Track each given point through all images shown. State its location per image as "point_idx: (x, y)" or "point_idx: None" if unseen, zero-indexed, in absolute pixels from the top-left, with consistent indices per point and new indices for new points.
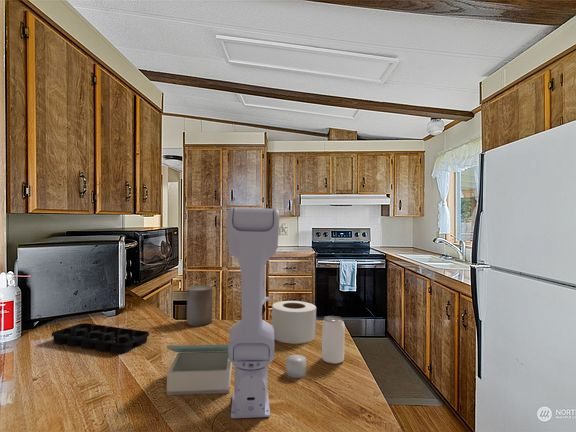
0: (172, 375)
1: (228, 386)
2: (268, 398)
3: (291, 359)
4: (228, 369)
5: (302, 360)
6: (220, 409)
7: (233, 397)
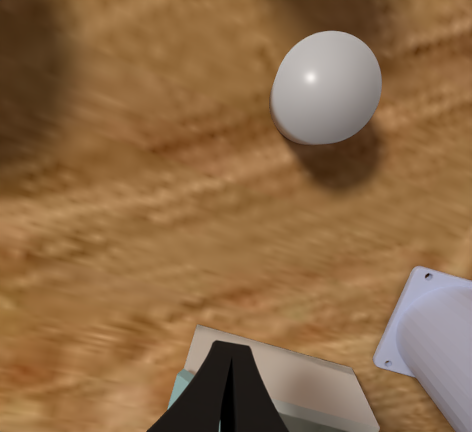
0: None
1: (358, 384)
2: (462, 279)
3: (329, 120)
4: (361, 427)
5: (363, 66)
6: (427, 404)
7: (402, 371)
